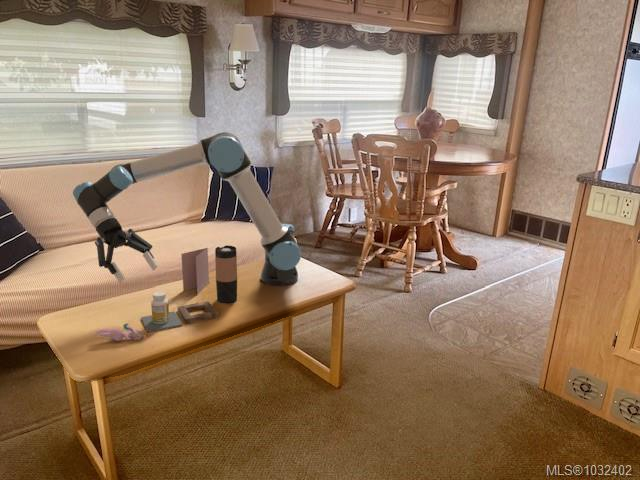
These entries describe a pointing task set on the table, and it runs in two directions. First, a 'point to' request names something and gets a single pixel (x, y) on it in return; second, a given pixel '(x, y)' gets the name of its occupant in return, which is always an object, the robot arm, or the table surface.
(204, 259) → the greeting card
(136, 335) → the pink patterned figure
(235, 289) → the travel mug
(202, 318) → the brown flat square frame
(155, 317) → the supplement bottle
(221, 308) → the table surface
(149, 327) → the slate pad
